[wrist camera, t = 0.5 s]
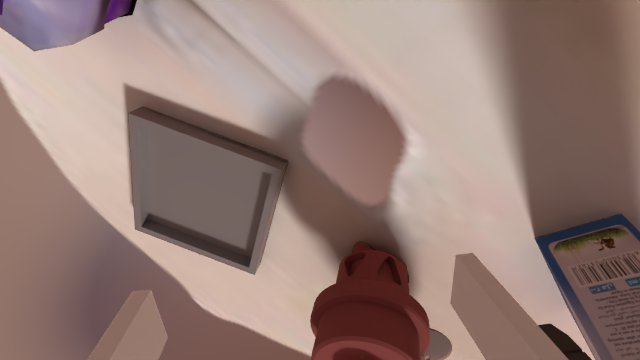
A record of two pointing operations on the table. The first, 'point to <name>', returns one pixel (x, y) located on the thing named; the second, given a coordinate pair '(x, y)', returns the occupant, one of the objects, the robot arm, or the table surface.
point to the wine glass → (437, 347)
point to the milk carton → (600, 283)
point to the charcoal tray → (202, 189)
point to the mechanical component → (369, 312)
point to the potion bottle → (59, 20)
